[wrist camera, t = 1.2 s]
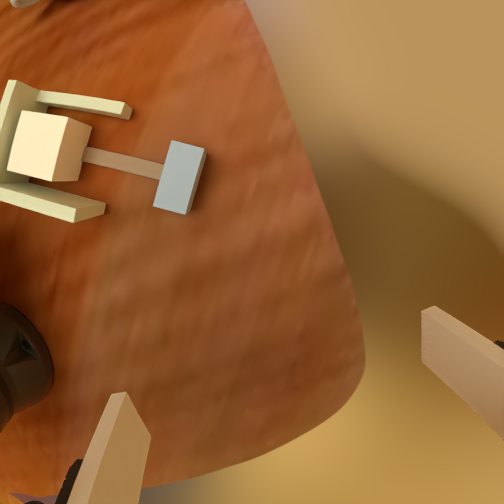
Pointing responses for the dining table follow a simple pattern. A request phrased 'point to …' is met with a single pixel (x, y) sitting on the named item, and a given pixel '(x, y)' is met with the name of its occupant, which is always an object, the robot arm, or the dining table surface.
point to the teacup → (23, 3)
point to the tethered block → (100, 158)
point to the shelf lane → (17, 185)
